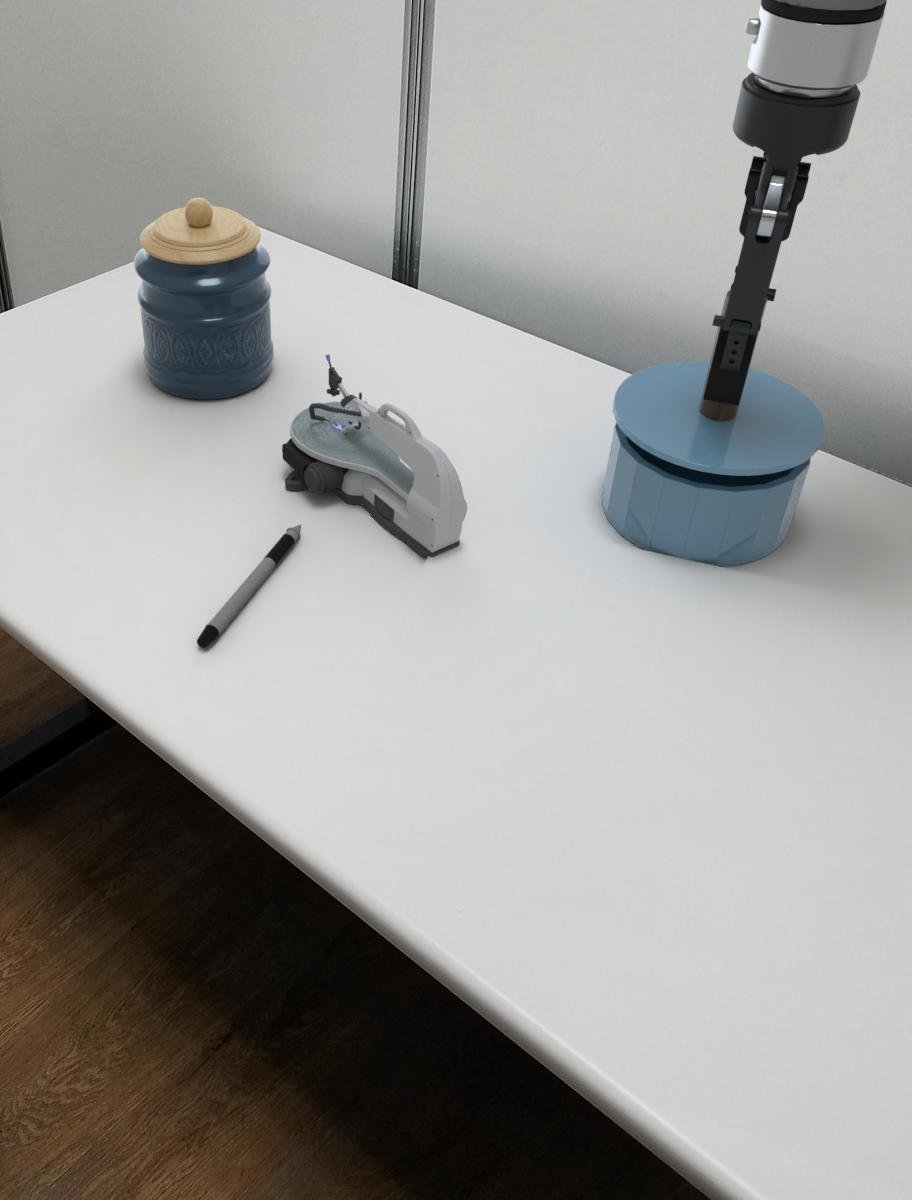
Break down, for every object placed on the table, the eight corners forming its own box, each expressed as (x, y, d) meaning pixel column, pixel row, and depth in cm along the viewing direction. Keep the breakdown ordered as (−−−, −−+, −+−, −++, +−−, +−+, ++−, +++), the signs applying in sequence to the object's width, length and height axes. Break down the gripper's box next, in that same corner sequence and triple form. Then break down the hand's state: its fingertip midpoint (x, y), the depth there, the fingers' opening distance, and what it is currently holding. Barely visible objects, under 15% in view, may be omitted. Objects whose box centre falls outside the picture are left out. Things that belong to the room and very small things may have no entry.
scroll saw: (514, 425, 92) (396, 472, 87) (501, 533, 99) (390, 582, 94) (365, 324, 105) (255, 361, 100) (363, 426, 112) (259, 465, 107)
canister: (155, 337, 125) (138, 171, 114) (277, 339, 125) (273, 172, 113) (136, 401, 115) (115, 227, 104) (269, 404, 115) (263, 229, 103)
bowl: (794, 479, 105) (817, 406, 100) (779, 585, 94) (804, 509, 89) (619, 445, 109) (633, 373, 104) (585, 542, 98) (599, 467, 93)
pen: (194, 647, 89) (193, 635, 88) (294, 527, 100) (294, 515, 99) (210, 653, 88) (208, 640, 87) (308, 532, 99) (308, 519, 99)
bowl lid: (827, 393, 99) (867, 267, 92) (814, 501, 88) (858, 367, 80) (630, 358, 104) (653, 236, 97) (593, 457, 92) (616, 326, 85)
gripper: (756, 39, 85) (689, 334, 100) (730, 110, 74) (660, 431, 89) (867, 50, 83) (782, 350, 98) (858, 125, 72) (763, 451, 87)
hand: (724, 388), depth 94 cm, fingers closed on bowl lid, 3 cm apart
